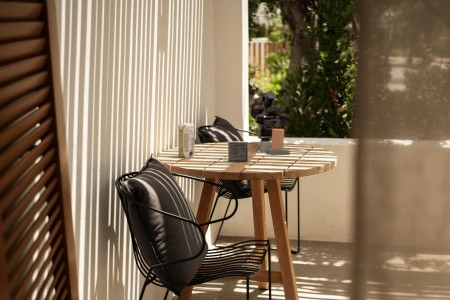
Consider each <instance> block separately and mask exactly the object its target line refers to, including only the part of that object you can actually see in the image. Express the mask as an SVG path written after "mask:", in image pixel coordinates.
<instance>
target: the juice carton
mask: <svg viewBox="0 0 450 300" xmlns="http://www.w3.org/2000/svg"><path fill="white" fill-rule="evenodd" d="M177 125H178V126H177V130H178V133H177V135H178V136H177V140H178V142H177V146H178V148H177V149H178V150H177V152H178V154H177V155H178V157H179V158H184V159H186V158H193V157H192V156H194V157H195V124H194V123H188V122H186V123H179V124H177Z"/></svg>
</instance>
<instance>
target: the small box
mask: <svg viewBox="0 0 450 300" xmlns="http://www.w3.org/2000/svg"><path fill="white" fill-rule="evenodd" d="M227 145H228V146H227V148H228V149H227V150H228V154H227V155H228V158H227V159H228V160H227V163H228V162H229V163H230V162H232V163H233V162H234V163H235V162H237V163H239V162H242V163H243V162H244V163H246V162H248V158H249V156H248V155H249V154H248V148H249V147H248V145H249V144H248V141H229V142H228V143H227Z"/></svg>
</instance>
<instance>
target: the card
mask: <svg viewBox="0 0 450 300" xmlns="http://www.w3.org/2000/svg"><path fill="white" fill-rule="evenodd" d="M291 151H292V152H294V153H298V152H299V153H301V152H302V153H304V152H305V153H306V152H308V150H307V149H304V148H303V149H302V148H301V149H298V148H297V149H291Z"/></svg>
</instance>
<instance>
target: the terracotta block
mask: <svg viewBox="0 0 450 300" xmlns="http://www.w3.org/2000/svg"><path fill="white" fill-rule="evenodd" d="M284 141H285V128H282V129H280V128H273V129H272V138H271V142H272V150H283V148H284V146H285V145H284Z"/></svg>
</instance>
